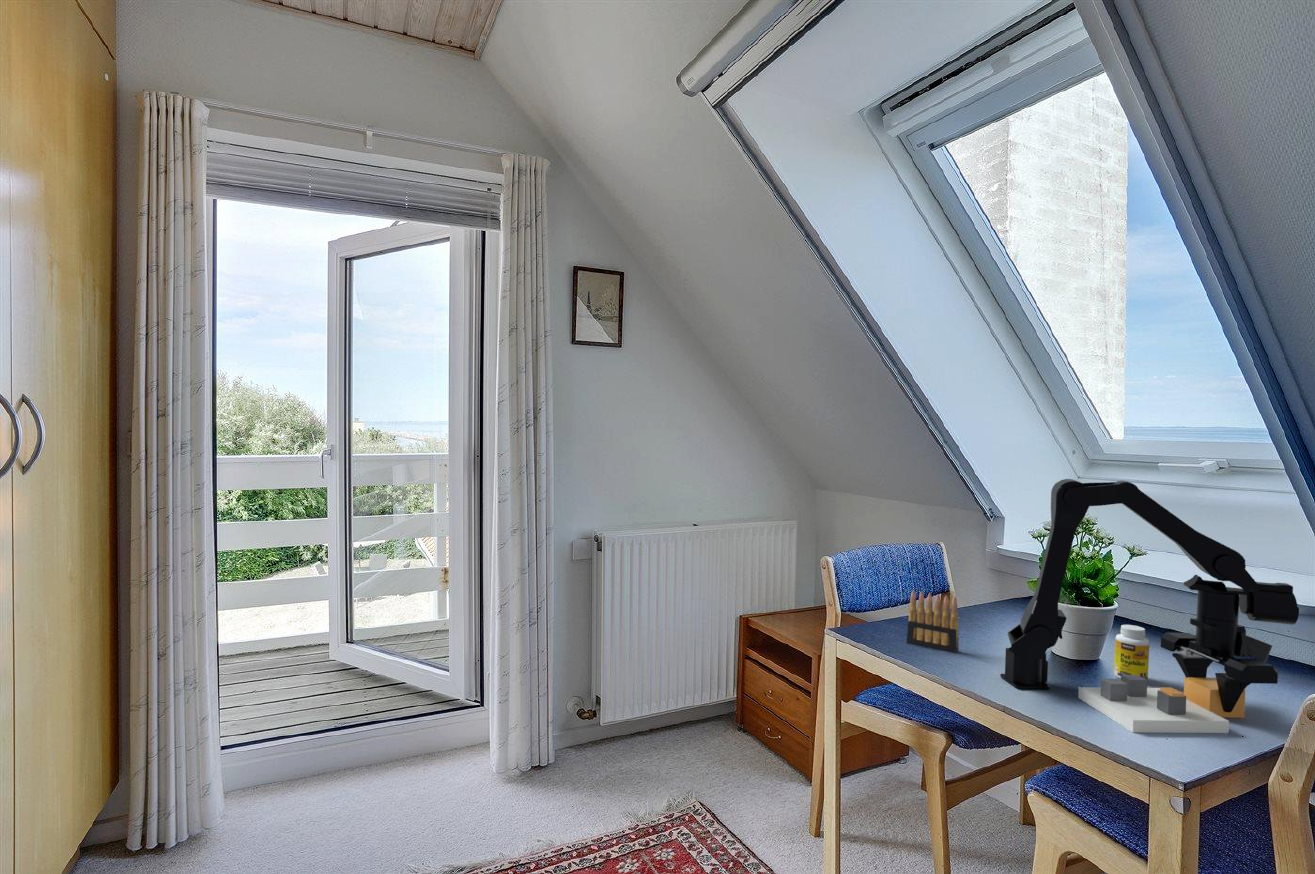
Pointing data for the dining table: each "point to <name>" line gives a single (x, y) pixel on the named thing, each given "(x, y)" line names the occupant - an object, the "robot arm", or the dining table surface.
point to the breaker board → (1147, 708)
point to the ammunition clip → (933, 624)
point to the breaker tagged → (1171, 701)
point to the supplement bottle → (1131, 652)
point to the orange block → (1211, 696)
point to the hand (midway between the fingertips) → (1213, 704)
